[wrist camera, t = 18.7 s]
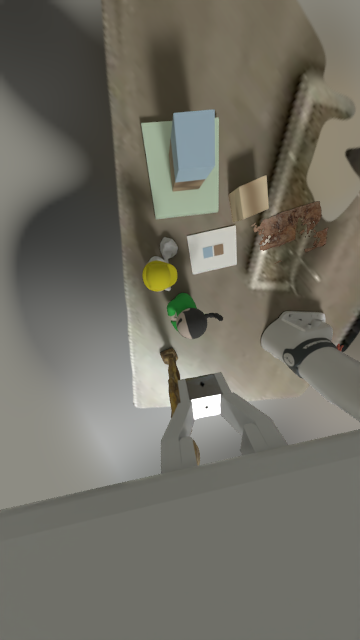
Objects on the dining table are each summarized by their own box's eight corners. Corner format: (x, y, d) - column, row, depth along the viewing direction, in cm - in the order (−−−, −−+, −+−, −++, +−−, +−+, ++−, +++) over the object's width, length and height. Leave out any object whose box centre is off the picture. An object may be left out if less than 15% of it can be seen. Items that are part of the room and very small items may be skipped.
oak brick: (251, 184, 33) (266, 175, 28) (254, 213, 35) (268, 208, 31) (228, 194, 33) (238, 186, 29) (232, 222, 36) (243, 219, 31)
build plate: (216, 121, 28) (218, 117, 27) (216, 212, 34) (218, 211, 33) (141, 127, 27) (141, 123, 26) (155, 219, 33) (155, 218, 32)
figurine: (185, 275, 40) (199, 290, 26) (152, 286, 40) (149, 307, 26) (173, 233, 35) (182, 226, 22) (136, 246, 35) (123, 246, 22)
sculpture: (157, 350, 49) (156, 475, 22) (174, 343, 49) (194, 461, 22) (166, 364, 52) (175, 488, 25) (183, 357, 52) (209, 476, 25)
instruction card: (235, 225, 36) (235, 225, 36) (236, 264, 40) (236, 264, 40) (186, 236, 36) (186, 236, 35) (192, 274, 40) (192, 274, 39)
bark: (330, 192, 36) (332, 191, 35) (325, 243, 41) (328, 243, 40) (242, 229, 37) (243, 229, 36) (249, 274, 42) (250, 274, 42)
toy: (162, 295, 41) (163, 318, 28) (200, 281, 41) (221, 298, 27) (173, 324, 46) (180, 356, 32) (208, 311, 45) (229, 339, 32)
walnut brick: (197, 152, 29) (204, 135, 24) (198, 189, 31) (205, 179, 27) (168, 154, 28) (170, 137, 24) (172, 191, 31) (174, 182, 26)
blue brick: (204, 134, 24) (214, 109, 20) (205, 179, 27) (215, 165, 22) (170, 137, 24) (173, 112, 19) (175, 182, 26) (178, 169, 22)
